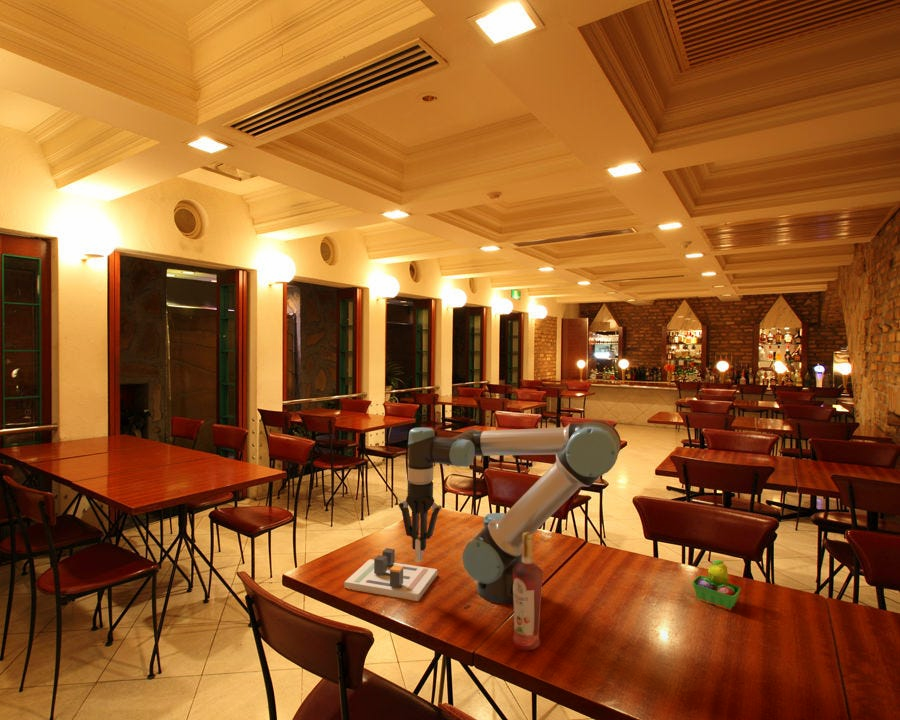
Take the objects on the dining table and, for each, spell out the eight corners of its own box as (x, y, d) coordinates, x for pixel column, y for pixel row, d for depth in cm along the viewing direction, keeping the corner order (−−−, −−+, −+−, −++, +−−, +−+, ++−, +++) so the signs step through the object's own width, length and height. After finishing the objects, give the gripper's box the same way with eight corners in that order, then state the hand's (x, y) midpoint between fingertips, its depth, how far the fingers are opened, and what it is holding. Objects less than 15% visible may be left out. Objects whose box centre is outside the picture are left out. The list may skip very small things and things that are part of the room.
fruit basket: (690, 599, 145) (691, 562, 145) (700, 589, 151) (701, 553, 151) (733, 614, 137) (734, 574, 137) (742, 603, 143) (743, 565, 143)
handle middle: (386, 570, 156) (387, 556, 156) (382, 574, 153) (383, 560, 153) (378, 569, 157) (378, 555, 157) (374, 573, 154) (374, 559, 154)
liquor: (547, 646, 122) (549, 534, 121) (529, 659, 116) (531, 542, 116) (523, 633, 127) (524, 526, 126) (505, 645, 122) (506, 533, 121)
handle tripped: (403, 583, 148) (403, 566, 148) (399, 587, 145) (399, 570, 145) (394, 581, 149) (394, 564, 149) (389, 586, 146) (390, 569, 146)
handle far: (394, 562, 162) (394, 549, 162) (390, 566, 159) (390, 552, 159) (386, 561, 163) (386, 548, 163) (382, 565, 160) (382, 551, 160)
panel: (437, 575, 159) (437, 568, 159) (418, 601, 142) (418, 593, 142) (369, 564, 166) (369, 558, 166) (344, 588, 149) (344, 581, 149)
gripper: (445, 479, 146) (443, 558, 146) (404, 475, 150) (403, 552, 150) (437, 486, 138) (435, 569, 139) (394, 481, 142) (393, 562, 143)
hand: (418, 560), depth 145 cm, fingers closed
